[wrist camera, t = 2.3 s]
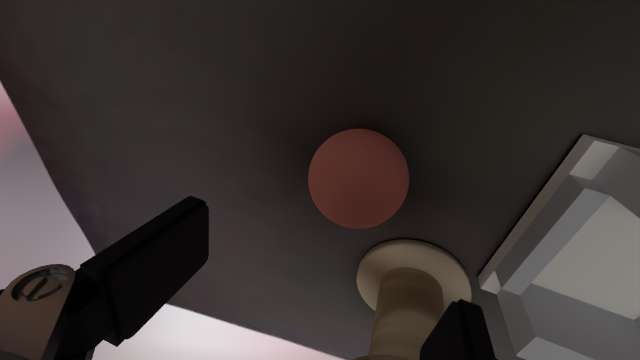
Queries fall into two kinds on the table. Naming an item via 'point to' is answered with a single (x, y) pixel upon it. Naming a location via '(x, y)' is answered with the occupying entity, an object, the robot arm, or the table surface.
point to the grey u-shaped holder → (575, 260)
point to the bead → (358, 178)
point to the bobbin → (408, 294)
